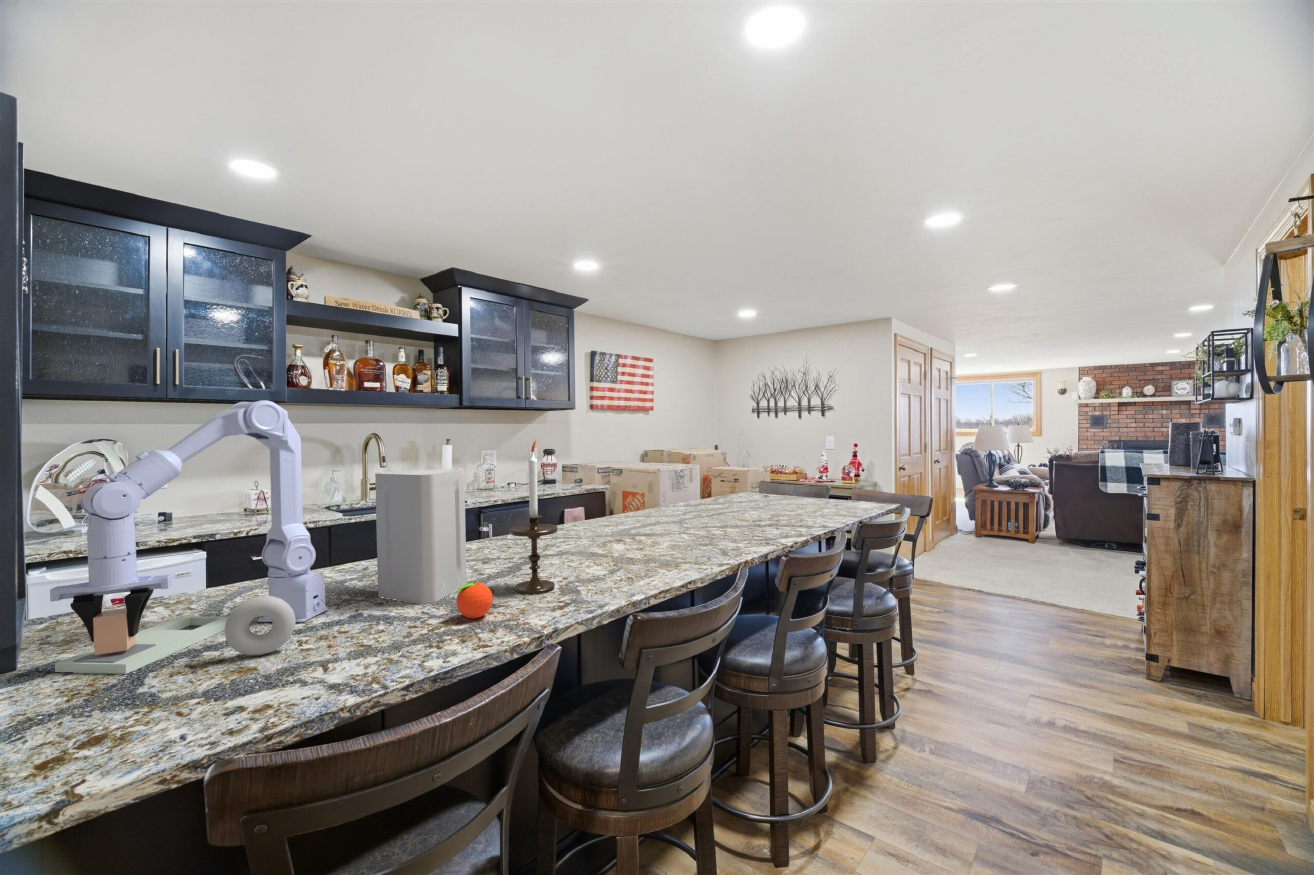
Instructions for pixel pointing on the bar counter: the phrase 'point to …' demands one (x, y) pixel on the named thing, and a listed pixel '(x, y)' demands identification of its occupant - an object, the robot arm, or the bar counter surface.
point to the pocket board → (146, 646)
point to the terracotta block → (112, 632)
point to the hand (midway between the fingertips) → (115, 637)
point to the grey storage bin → (420, 534)
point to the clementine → (474, 600)
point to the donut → (265, 643)
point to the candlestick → (533, 536)
